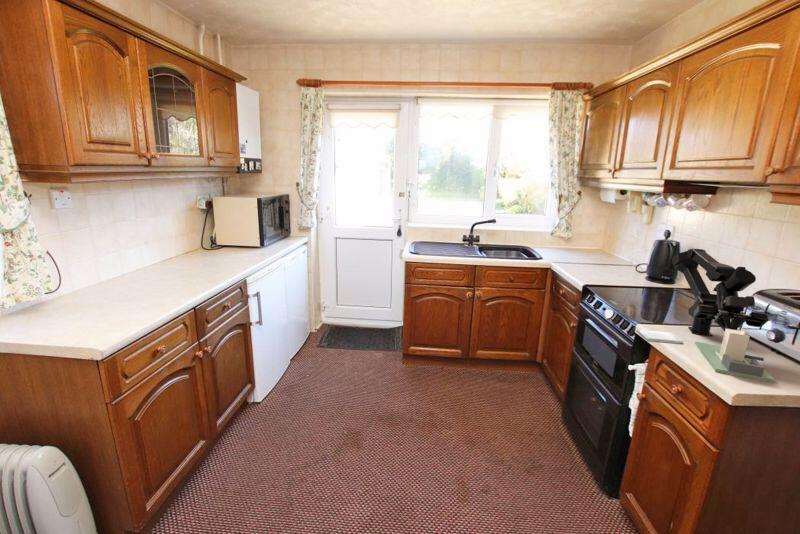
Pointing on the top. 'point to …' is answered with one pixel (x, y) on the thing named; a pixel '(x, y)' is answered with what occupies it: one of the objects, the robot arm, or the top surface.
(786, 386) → the top surface
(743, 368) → the header
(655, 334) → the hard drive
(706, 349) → the board
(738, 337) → the plug
